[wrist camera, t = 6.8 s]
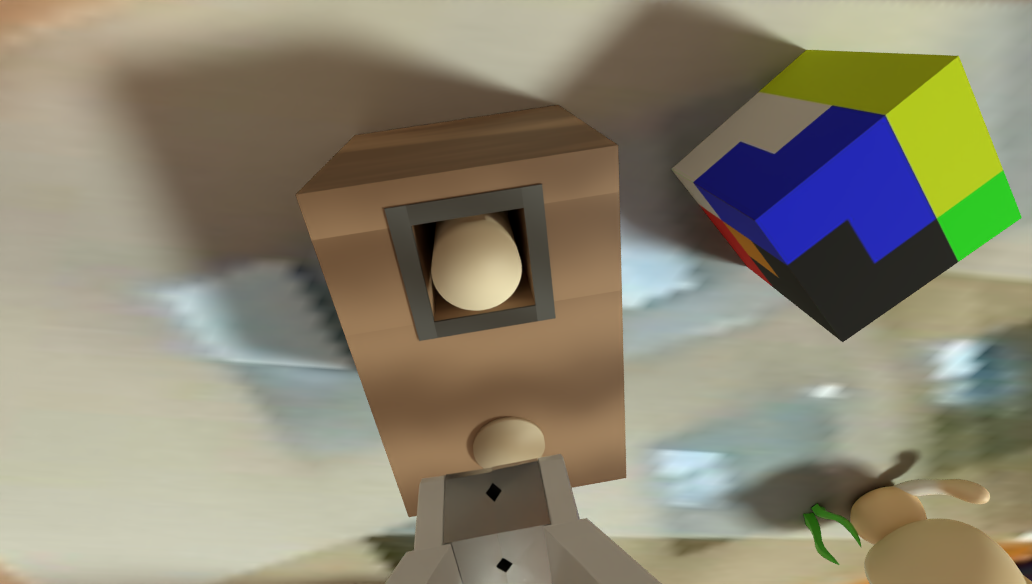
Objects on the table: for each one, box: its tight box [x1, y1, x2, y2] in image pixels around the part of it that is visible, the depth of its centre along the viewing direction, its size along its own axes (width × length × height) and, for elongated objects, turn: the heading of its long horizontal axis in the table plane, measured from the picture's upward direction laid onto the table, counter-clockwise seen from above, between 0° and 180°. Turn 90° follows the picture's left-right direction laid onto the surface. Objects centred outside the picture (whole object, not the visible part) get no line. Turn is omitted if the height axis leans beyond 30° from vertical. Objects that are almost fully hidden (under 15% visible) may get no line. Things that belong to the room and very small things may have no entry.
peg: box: [431, 211, 522, 311], centre depth 24 cm, size 4×4×12 cm
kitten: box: [803, 479, 1032, 584], centre depth 44 cm, size 15×10×15 cm, turn 104°
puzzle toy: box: [671, 50, 1022, 342], centre depth 28 cm, size 10×10×10 cm
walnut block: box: [296, 105, 626, 517], centre depth 27 cm, size 18×12×12 cm, turn 7°
